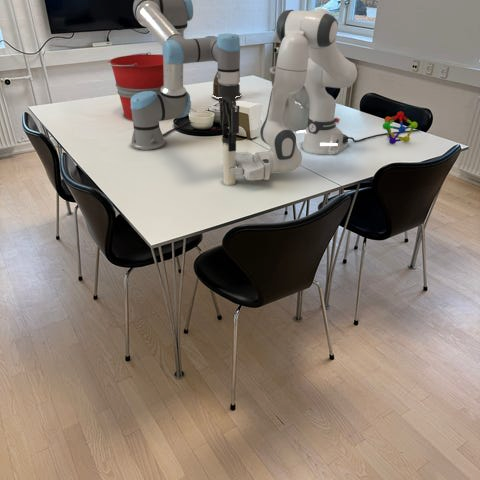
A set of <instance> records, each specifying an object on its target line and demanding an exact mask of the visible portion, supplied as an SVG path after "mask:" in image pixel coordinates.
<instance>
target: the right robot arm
mask: <svg viewBox="0 0 480 480" xmlns="http://www.w3.org/2000/svg"><path fill="white" fill-rule="evenodd" d="M275 27H276V29H275V30H276V35H277V38H278V40H279V41H280V45H279V48H278V54H277V58H276V65H275V66H276V71H275V79H274V84H273V87H272V86H271V92H270V95H269V103H268V106H267V112H266V117H265V119H264V121H263V123H262V125H261V127H260V132H259V133H260V135H259V136H260V139H261V141H262V142H263V143H265V145H266V144H267V145H268V146H269V150H265V151H258V152H255V153H254V154H252V152H249V151H238V152H236V168H234V167H231V168H229V172H230V173H236V175H237V174H238V175H243V177H244V178H245V179H246V180H247V181H260V180H270V176H271V174H274V173H279V174H280V173H281V174H282V173H287V172H292V171H295V170H297V169H299V167H300V166H301V165H302V162H303V153H302V151H301V150H300V149H299V147H298V143H297V135H296V134H300V133H304V138H303V141H302V142H301V145H302V150H303V151H305V152H307V153H310V154H315V155H337V154H338V153H339V152H341V151H342V150H344V149H345V148H347V147H348V146H349V140H351V141H352V142H353V143H359V142H362V141H365V140H368V139H373V138H376V137H381V136H388V132H384V133H379V134H374V135H370V136H367V137H363V138H361V139H357V140H355V139H354V137H352V136H348V135H346V134H345V133H343V131H341V129H339V128H338V127H337V125H336V124H339V123H340V122H341V119H340V118H338V117H335V115H336V114H335V113H336V107H337V105H336V104H337V101H336V100H335V98H334V97H333V96H332V95H331V94H330V93H329V92H327V90H326V88H334V89H346V88H350V87H352V86H353V85H354V83H355V82H356V80H357V79H358V78H357V77H358V69H357V66H356V65H355V63H354V62H352V61H351V60H349V59H347V58H346V57H345V55H343V53H342V52H341V51H340V50H339V47H338V44H337V39H336V38H337V35H338V29H339V23H338V20H337V18H336V17H335V16H334V15H332V14H330V13H329V12H328V10H326V9H324V8H315V9H312V10H294V9H286V10H283V11H282V12H281V13H280V15H279V16H278V18H277V21H276V26H275ZM303 85H304V87H305V88H306V90H307V92H308V95H309V100H310V111H309V117H308V120H307V126H308V127H307V128H306V130H296V134H295V132H294V131H293V130H290V129H289V128H287V127H286V126H284V124H283V113H284V108H285V104H286V100H287V98H288V97H289V96H290V95H292V94H295V93H297V92H298V91H300V90H301V89H302V88H303ZM409 131H410V130H405V132H403V133H402V134H405V133H407V134H408V133H409ZM391 132H392V133H394V135H396V134H397V133H398V132H399V131H391ZM414 132H420V129H413V130H412V132H411V133H414Z"/></svg>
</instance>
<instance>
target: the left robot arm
mask: <svg viewBox="0 0 480 480" xmlns="http://www.w3.org/2000/svg"><path fill="white" fill-rule="evenodd" d="M132 12H133V15H134V18H135V20H136V21H137V22H138V23H139V24H140V25H141V26H142V27H143V28H146V29H147V30H148V32H150V34H151V35H152V36H153V37H154V38H155V39H156V41H157V42H158V44H160V46H162V47H161V49H162V50H161V51H162V55H163V76H164V85H163V86H162V87H161V88H160V94H156V92H154V91H144V92H140V93H137V94H135V95H133V96H132V97H131V110H132V118H133V120H132V125H133V132H132V135H131V142H130V143H131V147H132V148H134V149H135V150H141V151H151V150H153V151H154V150H157V149H161V148H163V147H164V146H165V144H166V140H165V137H164V136H166V135H168V134H169V133H171V132H173V131H175V130H177V129H180V128H182V127H184V126H186V125H189V124H190V123H191V122H189V121H187V122H185V123H183V124H180V125H179V126H176V127H173V128H172V129H170V130H168V131H166V132H165V133H163V132H162V130H161V127H160V122H161V121H169V120H175V119H181V118H185V117H187V116H188V115H189V114H190V112H191V108H192V100H191V95H190V93H189V92H188V91H187V89H186V87H185V86H184V65H185V64H194V63H205V62H216V63H217V71H218V74H217V77H218V82H219V84H218V95H219V96H221V97H222V98H219V100H218V101H219V103H218V104H219V126H221V131H222V136H223V135H228V151H229V152H230V151H237V135H238V134H239V133H240V107H241V106H240V105H237V101H236V99H235V97H236V96H238V95H239V94H240V93H241V87H240V85H241V84H240V82H241V69H240V67H241V44H240V42H241V40H240V39H241V38H240V36H239V34H236V33H230V32H229V33H220V34H218V35H217V36H215V35H206V36H204V37H199V38H198V37H197V38H185V37H184V36H185V35H184V33H185V32H184V31H185V30H186V29H187V28H188V22H190V21H192V20H193V18H194V5H193V1H192V0H134V1H133V6H132ZM205 111H207V109H206V110H205ZM207 112H208V111H207Z"/></svg>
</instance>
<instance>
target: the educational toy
mask: <svg viewBox="0 0 480 480" xmlns="http://www.w3.org/2000/svg"><path fill="white" fill-rule="evenodd" d="M397 119H399V124H400V125H399V127H398V126H393V125H391V124H392V123H394V122H395V121H396V120H397ZM403 120H404V121H405V122H407V123H408V124H409V125H407V126H404V123H403ZM417 127H418V122H417V121H411V120H410V119H409V118H408V117H406V116H405V113H404V112H403V111H401V110H400V111H398V112H397V114H396V115H394V116H391V117H390V116H386V117H385V118H384V122H383V123H382V129H383V130H386V133H388V135H387V138H388V142H389V145H395V144H396V143H397V142H402V141H403V142H404V143H409V142H410V140H411V138H410V136H411V134H412V133H413V132H412V130H416V129H417ZM392 129H393V130H397V132H398V133H397V134H394V133H392V132H393V131H392ZM408 129H409V130H408ZM407 130H408V131H409V132H407V134H406V135H404V136H401V134H404V133H403V132H405V131H407ZM399 135H400V136H399Z"/></svg>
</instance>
